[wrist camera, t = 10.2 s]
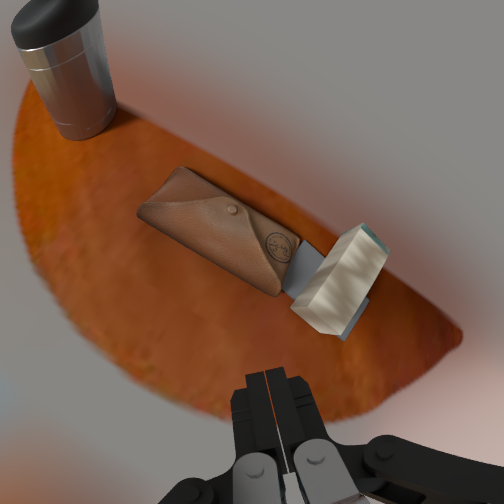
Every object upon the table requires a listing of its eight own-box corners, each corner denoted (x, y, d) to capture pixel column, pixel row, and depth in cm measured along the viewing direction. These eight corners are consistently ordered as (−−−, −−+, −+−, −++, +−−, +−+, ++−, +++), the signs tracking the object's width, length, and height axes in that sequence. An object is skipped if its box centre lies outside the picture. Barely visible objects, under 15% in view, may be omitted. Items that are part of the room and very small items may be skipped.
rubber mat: (272, 281, 34) (273, 280, 34) (303, 240, 36) (304, 239, 36) (342, 340, 35) (344, 341, 34) (368, 300, 36) (369, 300, 36)
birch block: (307, 306, 29) (363, 222, 32) (289, 307, 33) (342, 233, 37) (340, 335, 29) (390, 251, 32) (319, 332, 34) (368, 258, 37)
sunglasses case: (305, 235, 35) (312, 249, 29) (274, 283, 37) (275, 305, 30) (176, 162, 34) (155, 159, 27) (151, 212, 35) (127, 220, 29)
